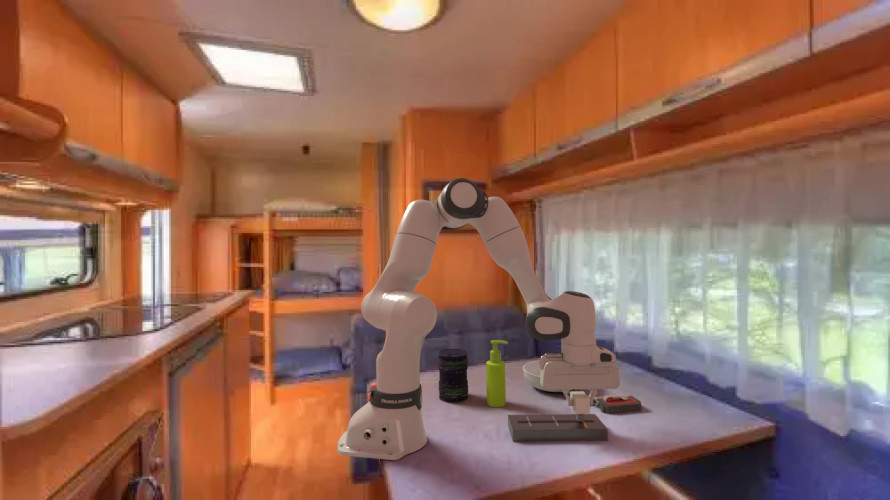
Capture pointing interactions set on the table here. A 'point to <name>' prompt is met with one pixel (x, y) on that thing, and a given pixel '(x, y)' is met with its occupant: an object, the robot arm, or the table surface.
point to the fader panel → (556, 428)
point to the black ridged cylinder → (453, 375)
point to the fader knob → (580, 404)
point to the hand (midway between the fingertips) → (579, 404)
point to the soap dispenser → (496, 377)
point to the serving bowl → (535, 375)
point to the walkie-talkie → (617, 404)
